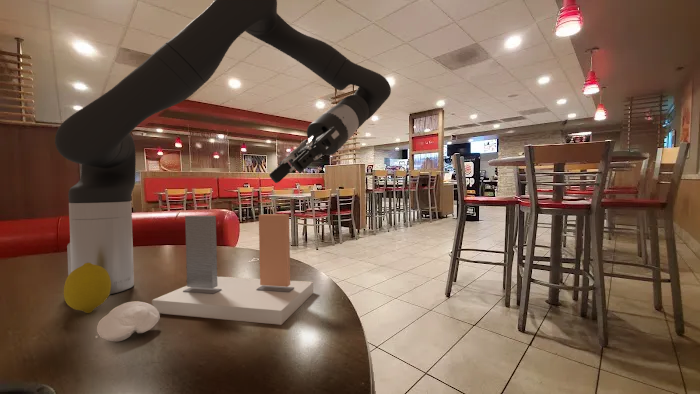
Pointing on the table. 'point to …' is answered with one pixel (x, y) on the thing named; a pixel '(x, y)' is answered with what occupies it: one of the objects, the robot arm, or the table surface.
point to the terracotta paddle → (274, 249)
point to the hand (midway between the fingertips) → (283, 173)
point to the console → (237, 300)
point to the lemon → (87, 287)
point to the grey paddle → (201, 251)
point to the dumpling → (127, 320)
